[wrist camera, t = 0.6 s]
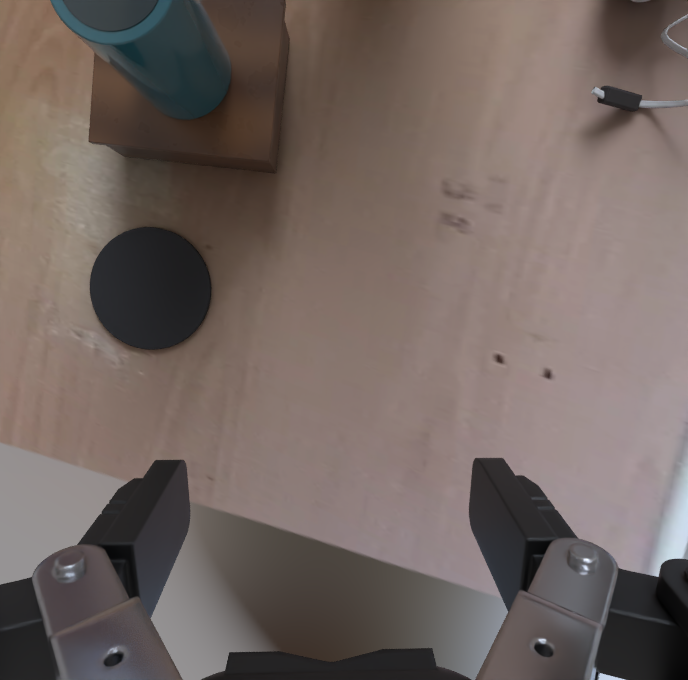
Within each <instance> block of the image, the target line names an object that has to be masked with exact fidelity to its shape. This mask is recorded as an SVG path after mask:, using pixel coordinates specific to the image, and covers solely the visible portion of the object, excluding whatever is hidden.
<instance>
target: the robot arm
mask: <svg viewBox="0 0 688 680" xmlns="http://www.w3.org/2000/svg"><path fill="white" fill-rule="evenodd" d="M469 518H470V525H471V528H472V531H473V534H474V536H475V538H476V540H477V543H478V545H479V547H480V549H481V552H482V554H483V556H484V558H485V561H486V563H487V565H488V567H489V570H490V572H491V574H492V576H493V579H494V581H495V583H496V585H497V588H498V590H499V592H500V594H501V597H502V599H503V601H504V603H505V605H506V608H507V610H508V614H507V616H506V618H505V620H504V622H503V624H502V626H501V628H500V630H499V632H498V634H497V636H496V638H495V640H494V643H493V644H492V647H491V649H490V651H489V653H488V655H487V657H486V659H485V661H484V663H483V665H482V667H481V669H480V671H479V673H478V675H477V677H476V679H475V680H598V679H599V674H600V673H603V674H606V675H610V676H614V677H618V678H622V679H626V680H688V560H686V559H671V560H668V561H665V562H664V563H663V564H662V565H661V568H660V573H659V577H656V576H651V575H646V574H641V573H636V572H631V571H627V570H623V569H620V568H618V565H617V563H616V561H615V559H614V558H613V557H612V556H611V555H610V554H609V553H608V552H607V551H605V550H604V549H603V548H601V547H599V546H597V545H595V544H593V543H591V542H588V541H585V540H582V539H578V538H577V536H576V535H575V534H574V532H573V531H572V530H571V528H570V527H569V526H568V524H567V523H566V522H565V520H564V519H563V518H562V516H561V515H560V514H559V512H558V511H557V510H555V507H554V506H553V505H552V503H551V502H550V501H549V500H547V497H546V495H545V494H544V493H543V491H542V490H541V489H540V487H539V486H538V485H536V484H535V483H533V482H532V481H530V480H529V479H528V478H526V477H525V476H515V474H514V473H513V472H512V470H511V469H510V467H509V466H508V464H507V463H506V462H505V460H504V459H503V458H475V459H474V462H473V467H472V478H471V490H470V502H469ZM189 523H190V502H189V490H188V478H187V467H186V463H185V461H184V460H156V461H154V463H153V464H152V466H151V467H150V469H149V470H148V471H147V473H146V474H145V476H144V477H143V478H134V479H133V480H131V481H130V482H128V483H127V484H125V485H124V486H123V487H121V488H120V489H118V491H117V492H116V493H115V495H114V496H113V497H112V499H111V500H110V502H109V504H107V505H106V507H105V508H104V509H103V511H102V514H100V515H99V516H98V517H97V519H96V520H95V522H94V523H93V524H92V526H91V527H90V528H89V530H88V531H87V532H86V534H85V535H84V537H83V538H82V539H81V541H80V542H79V543H78V544H77V545H76V546H72V547H68V548H65V549H62V550H60V551H58V552H56V553H54V554H52V555H50V556H49V557H47V558H46V559H45V560H43V561H42V562H41V563H40V564H39V565H38V566H37V568H36V569H35V571H34V573H33V576H32V577H31V578H27V579H23V580H19V581H15V582H10V583H6V584H1V585H0V680H182V678H181V676H180V674H179V672H178V670H177V668H176V666H175V664H174V662H173V661H172V659H171V657H170V655H169V653H168V651H167V649H166V647H165V645H164V643H163V642H162V640H161V638H160V636H159V634H158V632H157V630H156V629H155V627H154V625H153V623H152V621H151V619H150V618H151V616H152V614H153V611H154V609H155V607H156V604H157V602H158V600H159V597H160V595H161V593H162V591H163V588H164V586H165V584H166V581H167V579H168V577H169V574H170V571H171V570H172V567H173V565H174V563H175V560H176V558H177V556H178V554H179V551H180V549H181V547H182V544H183V542H184V540H185V537H186V535H187V532H188V528H189ZM202 680H471V679H469V678H468V677H466V676H463V675H461V674H459V673H457V672H454V671H451V670H448V669H445V668H442V667H438V666H436V662H435V658H434V654H433V650H432V648H421V649H382V650H378V651H375V652H371V653H367V654H363V655H359V656H355V657H351V658H348V659H344V660H340V661H336V662H326V661H321V660H317V659H312V658H307V657H303V656H298V655H293V654H289V653H284V652H279V651H277V652H230V653H229V656H228V661H227V665H226V670H225V671H223V672H219V673H216V674H213V675H211V676H209V677H206V678H204V679H202Z"/></svg>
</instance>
